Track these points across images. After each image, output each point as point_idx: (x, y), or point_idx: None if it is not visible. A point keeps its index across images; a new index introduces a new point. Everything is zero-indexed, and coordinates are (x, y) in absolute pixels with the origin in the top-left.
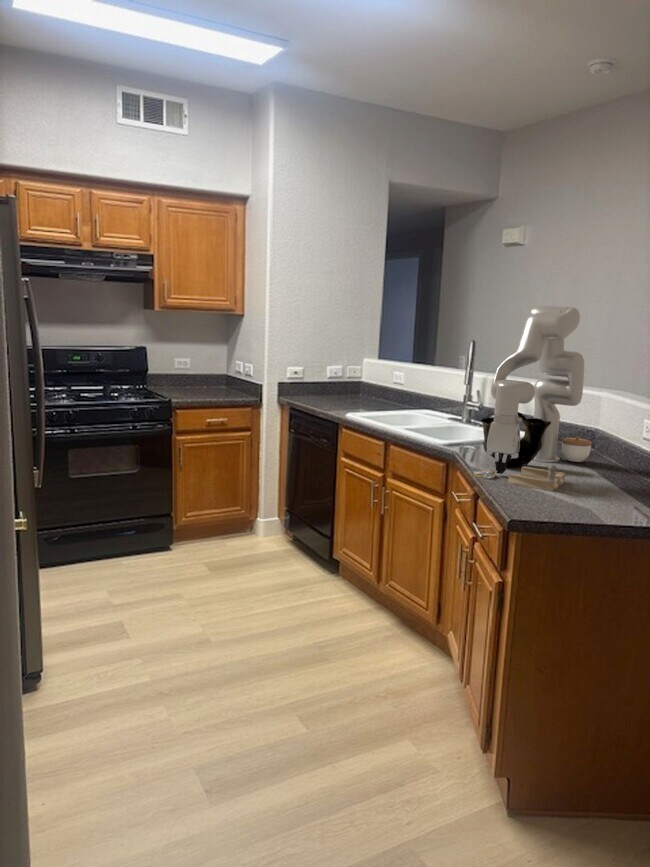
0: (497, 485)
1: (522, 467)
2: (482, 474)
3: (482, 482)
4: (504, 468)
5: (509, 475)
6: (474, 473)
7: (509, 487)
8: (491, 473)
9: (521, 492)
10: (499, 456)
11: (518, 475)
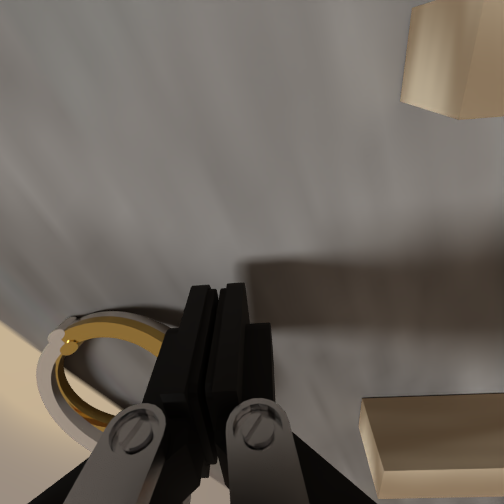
0: None
1: (478, 115)
2: None
3: (215, 472)
4: (274, 384)
5: (382, 495)
6: (72, 414)
7: None
8: (159, 345)
9: (465, 500)
10: (132, 491)
11: (457, 476)
